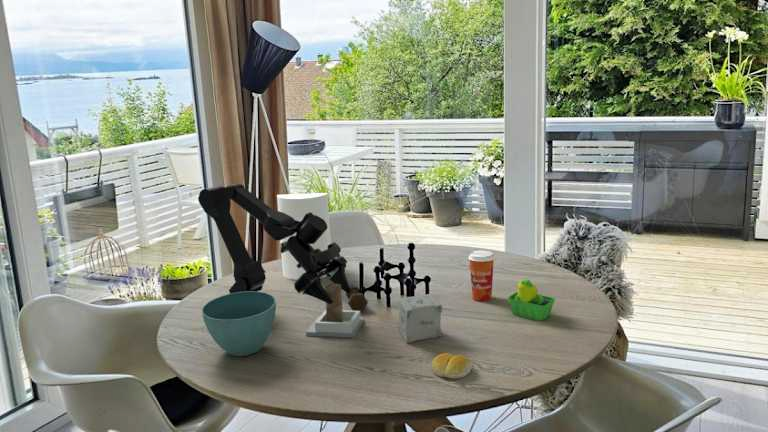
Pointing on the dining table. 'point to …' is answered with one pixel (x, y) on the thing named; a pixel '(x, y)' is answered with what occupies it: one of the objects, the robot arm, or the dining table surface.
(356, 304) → the bolt
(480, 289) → the paper cup
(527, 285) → the fruit basket
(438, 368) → the bread roll
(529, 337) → the dining table surface
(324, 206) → the cylinder
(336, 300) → the walnut cylinder
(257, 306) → the teal bowl
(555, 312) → the dining table surface
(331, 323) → the white tray
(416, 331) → the light grey box
